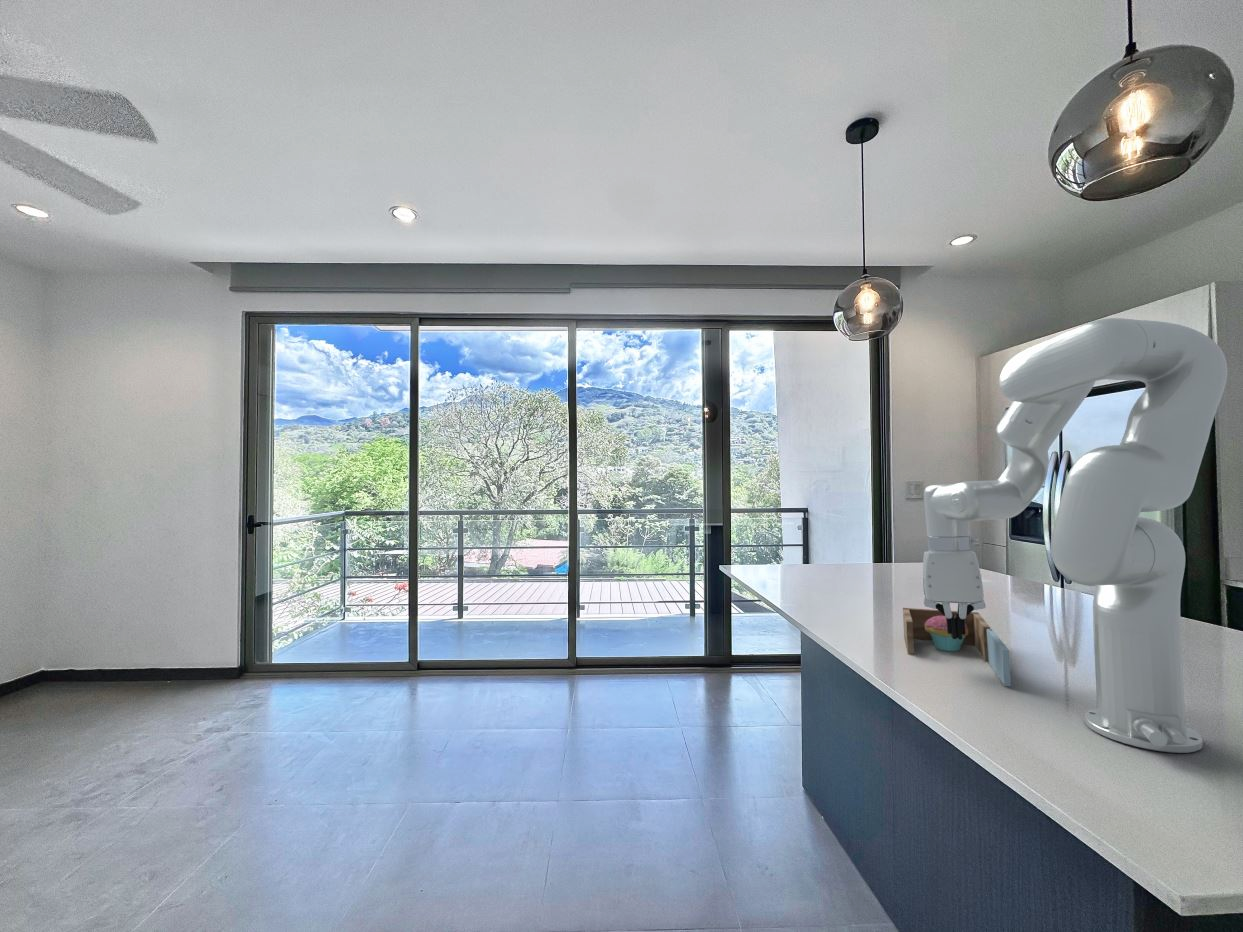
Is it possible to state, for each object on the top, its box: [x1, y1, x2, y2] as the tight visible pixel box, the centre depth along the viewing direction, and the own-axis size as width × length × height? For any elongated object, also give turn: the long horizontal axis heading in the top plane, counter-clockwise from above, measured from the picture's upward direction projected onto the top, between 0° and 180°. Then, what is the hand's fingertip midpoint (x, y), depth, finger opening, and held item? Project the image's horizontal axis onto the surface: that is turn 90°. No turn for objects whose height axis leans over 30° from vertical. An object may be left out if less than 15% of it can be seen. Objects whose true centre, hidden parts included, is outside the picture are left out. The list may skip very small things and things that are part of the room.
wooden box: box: [902, 607, 991, 663], centre depth 124 cm, size 14×15×7 cm
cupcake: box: [924, 603, 968, 652], centre depth 124 cm, size 9×8×12 cm
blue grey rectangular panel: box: [987, 628, 1012, 687], centre depth 107 cm, size 1×15×6 cm, turn 156°
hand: (956, 637), depth 111 cm, fingers closed
